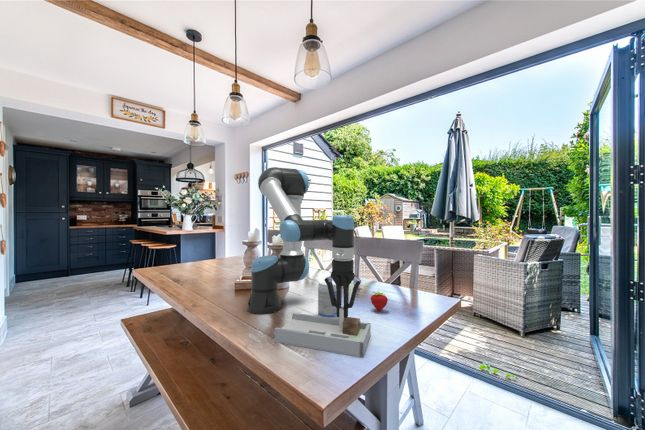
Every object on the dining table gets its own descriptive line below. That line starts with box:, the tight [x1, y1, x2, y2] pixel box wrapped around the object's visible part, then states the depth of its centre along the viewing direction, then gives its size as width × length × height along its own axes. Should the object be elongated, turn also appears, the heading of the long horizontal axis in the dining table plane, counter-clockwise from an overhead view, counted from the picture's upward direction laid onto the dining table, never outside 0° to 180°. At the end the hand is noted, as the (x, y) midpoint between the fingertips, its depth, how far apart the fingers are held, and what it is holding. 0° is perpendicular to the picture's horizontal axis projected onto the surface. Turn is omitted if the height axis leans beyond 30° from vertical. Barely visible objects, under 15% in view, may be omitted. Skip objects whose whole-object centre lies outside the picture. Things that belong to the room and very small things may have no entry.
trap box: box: [274, 312, 372, 358], centre depth 93 cm, size 30×15×4 cm, turn 71°
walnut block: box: [343, 316, 361, 336], centre depth 93 cm, size 5×5×4 cm
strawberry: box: [370, 291, 389, 313], centre depth 119 cm, size 6×8×10 cm
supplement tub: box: [317, 279, 339, 319], centre depth 113 cm, size 10×10×15 cm
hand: (342, 326), depth 94 cm, fingers closed
